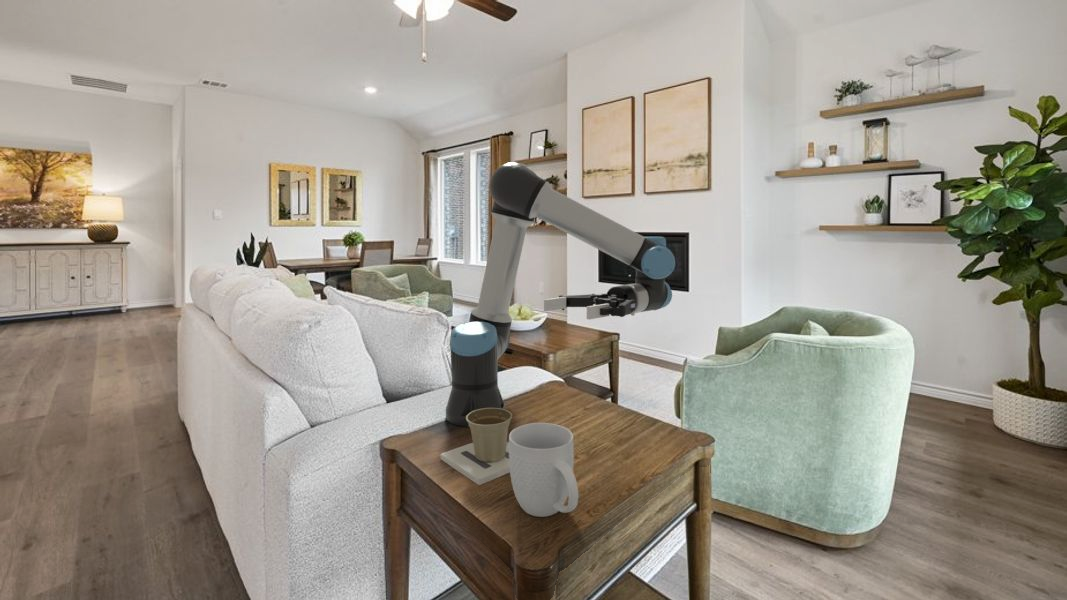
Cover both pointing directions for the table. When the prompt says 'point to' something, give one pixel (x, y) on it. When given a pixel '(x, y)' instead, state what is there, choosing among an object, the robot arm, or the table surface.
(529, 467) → the mug
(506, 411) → the flower pot
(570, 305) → the robot arm
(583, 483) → the table surface
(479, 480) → the letter board
